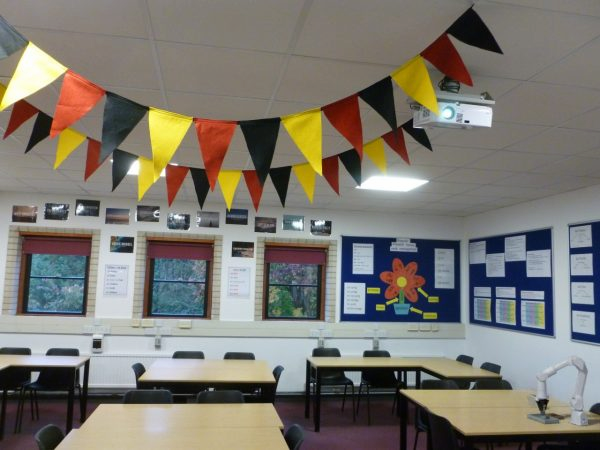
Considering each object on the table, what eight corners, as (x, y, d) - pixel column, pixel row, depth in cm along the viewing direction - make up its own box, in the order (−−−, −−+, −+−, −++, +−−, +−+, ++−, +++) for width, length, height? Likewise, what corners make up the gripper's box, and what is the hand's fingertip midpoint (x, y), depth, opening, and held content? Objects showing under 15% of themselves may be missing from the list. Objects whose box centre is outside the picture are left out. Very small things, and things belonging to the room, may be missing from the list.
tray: (559, 423, 324) (559, 419, 324) (544, 424, 321) (544, 420, 321) (541, 416, 339) (541, 413, 340) (527, 417, 336) (527, 414, 336)
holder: (563, 419, 334) (563, 416, 334) (553, 420, 332) (553, 417, 332) (553, 415, 343) (553, 413, 343) (543, 416, 340) (543, 413, 340)
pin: (547, 415, 329) (546, 405, 330) (542, 416, 328) (542, 405, 329) (543, 413, 333) (542, 403, 334) (538, 414, 332) (537, 404, 333)
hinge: (549, 409, 362) (544, 396, 362) (543, 411, 361) (539, 398, 361) (534, 403, 378) (530, 391, 379) (529, 406, 377) (525, 393, 378)
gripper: (541, 387, 340) (542, 407, 338) (530, 390, 331) (531, 410, 330) (551, 389, 334) (552, 410, 333) (540, 392, 326) (541, 412, 324)
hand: (542, 410), depth 331 cm, fingers closed on pin, 4 cm apart
